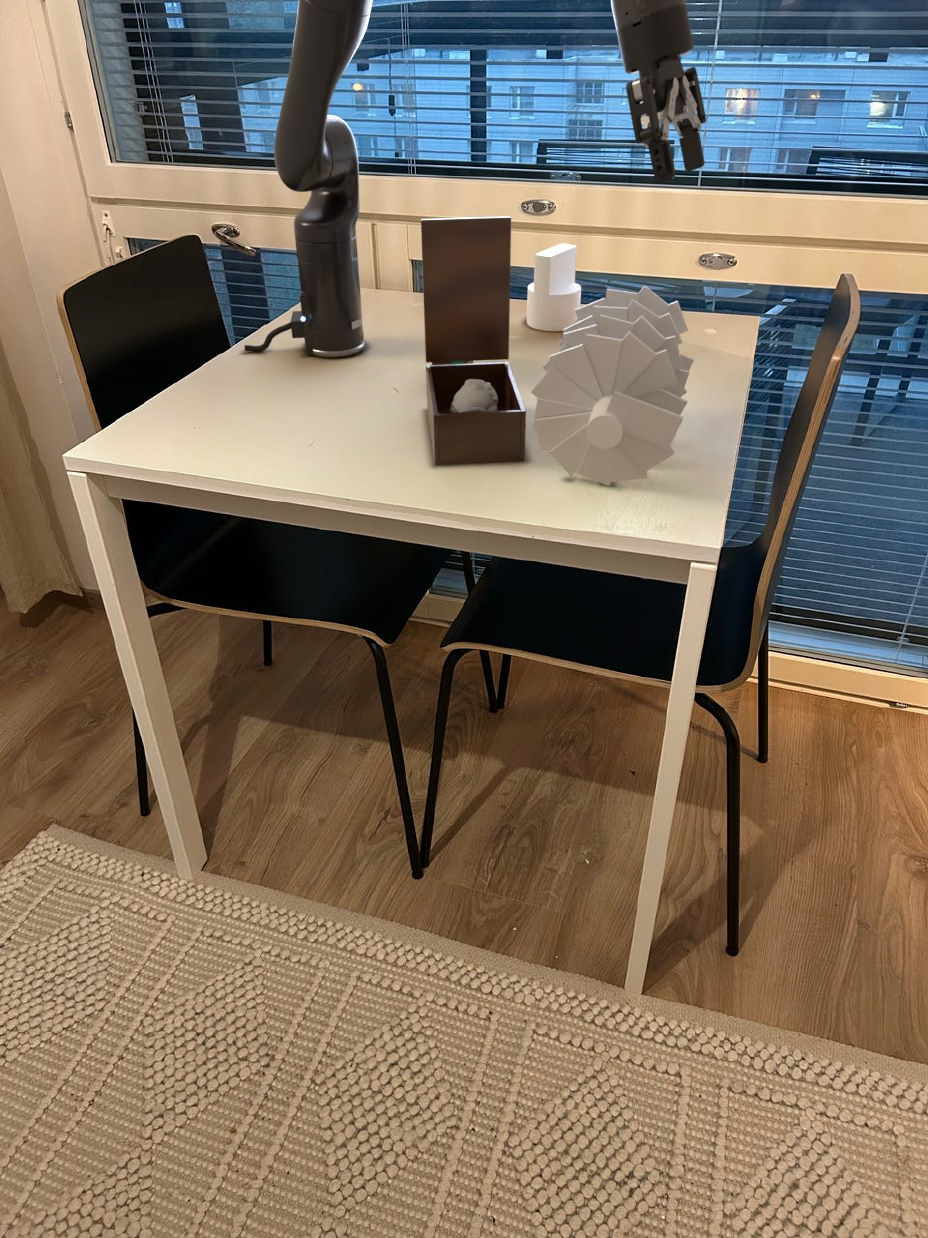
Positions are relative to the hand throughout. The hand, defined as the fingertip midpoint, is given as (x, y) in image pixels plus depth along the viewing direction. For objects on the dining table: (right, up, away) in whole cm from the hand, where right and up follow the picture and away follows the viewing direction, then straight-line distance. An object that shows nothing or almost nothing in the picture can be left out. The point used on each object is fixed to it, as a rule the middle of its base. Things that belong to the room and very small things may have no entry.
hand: (681, 174), depth 106 cm
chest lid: (-24, -8, +14) cm, 29 cm away
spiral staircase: (-6, -29, +12) cm, 33 cm away
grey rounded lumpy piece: (-23, -27, +16) cm, 39 cm away
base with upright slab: (-9, 0, +55) cm, 55 cm away
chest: (-23, -26, +17) cm, 39 cm away
